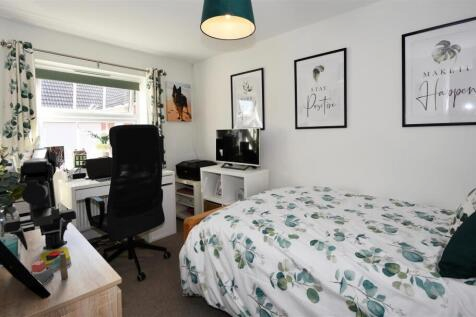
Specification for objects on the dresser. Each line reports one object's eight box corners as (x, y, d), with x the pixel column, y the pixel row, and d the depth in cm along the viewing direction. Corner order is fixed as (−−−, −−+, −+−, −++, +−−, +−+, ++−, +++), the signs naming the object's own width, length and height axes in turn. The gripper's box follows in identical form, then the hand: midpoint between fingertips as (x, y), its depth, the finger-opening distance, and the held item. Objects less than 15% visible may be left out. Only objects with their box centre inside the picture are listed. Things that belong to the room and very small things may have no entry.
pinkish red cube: (38, 268, 91) (37, 259, 91) (49, 269, 91) (48, 259, 90) (29, 275, 88) (28, 265, 87) (40, 275, 87) (39, 265, 87)
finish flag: (64, 276, 92) (61, 252, 90) (69, 276, 92) (66, 252, 90) (52, 286, 86) (49, 260, 85) (58, 286, 86) (55, 261, 85)
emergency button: (40, 264, 93) (38, 248, 104) (41, 275, 93) (40, 258, 105) (71, 255, 98) (66, 241, 110) (72, 266, 99) (67, 251, 111)
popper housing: (39, 275, 92) (38, 266, 92) (53, 276, 92) (52, 266, 92) (26, 284, 87) (25, 274, 87) (41, 285, 87) (40, 275, 86)
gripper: (-1, 208, 74) (6, 262, 74) (76, 196, 86) (81, 243, 86) (1, 203, 82) (7, 251, 83) (71, 193, 94) (75, 235, 95)
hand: (44, 245), depth 87 cm, fingers open, 9 cm apart
